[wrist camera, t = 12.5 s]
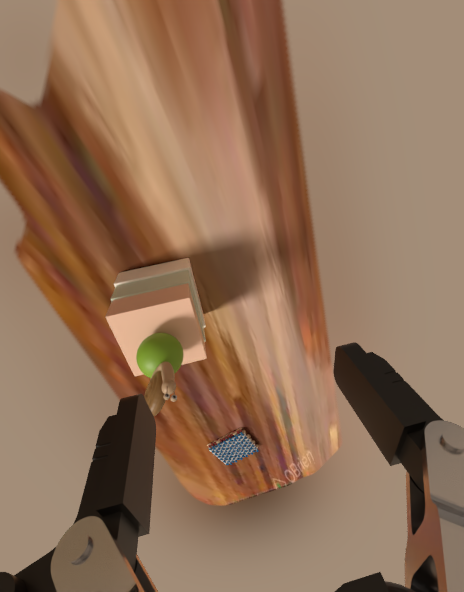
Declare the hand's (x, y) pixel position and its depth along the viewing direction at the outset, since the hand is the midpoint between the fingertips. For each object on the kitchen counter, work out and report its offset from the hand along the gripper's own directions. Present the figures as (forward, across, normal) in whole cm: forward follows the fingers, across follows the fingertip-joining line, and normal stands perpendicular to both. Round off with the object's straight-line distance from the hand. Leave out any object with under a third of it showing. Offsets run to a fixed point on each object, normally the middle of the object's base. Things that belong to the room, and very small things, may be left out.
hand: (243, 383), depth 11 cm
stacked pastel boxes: (+32, +8, +13) cm, 35 cm away
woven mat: (+31, +3, +59) cm, 67 cm away
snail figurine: (+20, +8, +12) cm, 25 cm away
